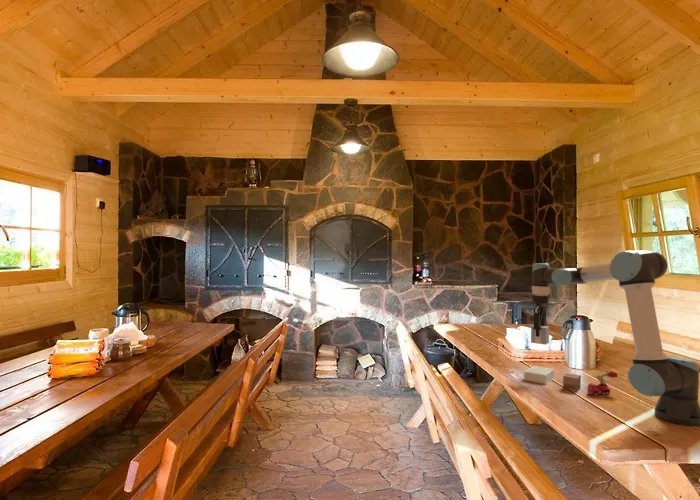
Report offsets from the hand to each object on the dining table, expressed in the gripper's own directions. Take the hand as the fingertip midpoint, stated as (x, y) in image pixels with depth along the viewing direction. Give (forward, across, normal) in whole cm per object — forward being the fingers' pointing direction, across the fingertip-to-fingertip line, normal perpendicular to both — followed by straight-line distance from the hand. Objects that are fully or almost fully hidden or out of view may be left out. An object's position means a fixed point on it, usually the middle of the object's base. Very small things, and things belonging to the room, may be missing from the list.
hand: (539, 341), depth 220 cm
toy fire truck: (+18, +5, +28) cm, 34 cm away
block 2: (+18, +6, +16) cm, 25 cm away
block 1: (0, 0, 0) cm, 0 cm away
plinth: (+18, 0, 0) cm, 18 cm away
